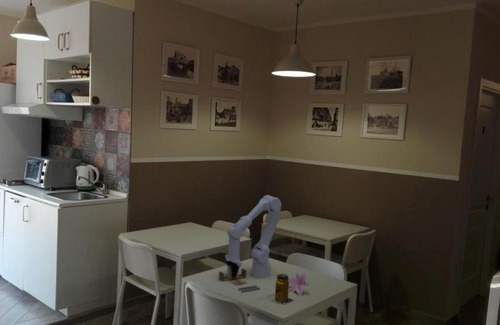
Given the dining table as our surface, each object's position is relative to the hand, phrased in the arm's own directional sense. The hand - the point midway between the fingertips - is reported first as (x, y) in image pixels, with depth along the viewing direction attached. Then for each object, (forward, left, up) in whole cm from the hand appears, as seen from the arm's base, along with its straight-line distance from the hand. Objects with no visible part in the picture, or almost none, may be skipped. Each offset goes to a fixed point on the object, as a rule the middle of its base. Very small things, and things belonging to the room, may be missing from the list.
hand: (232, 276), depth 232 cm
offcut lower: (0, +7, -2) cm, 7 cm away
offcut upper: (0, +7, -1) cm, 7 cm away
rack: (0, +3, -3) cm, 4 cm away
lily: (-23, +25, -3) cm, 34 cm away
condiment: (-10, +31, -3) cm, 33 cm away
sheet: (0, 0, -2) cm, 2 cm away
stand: (0, +17, -3) cm, 17 cm away
